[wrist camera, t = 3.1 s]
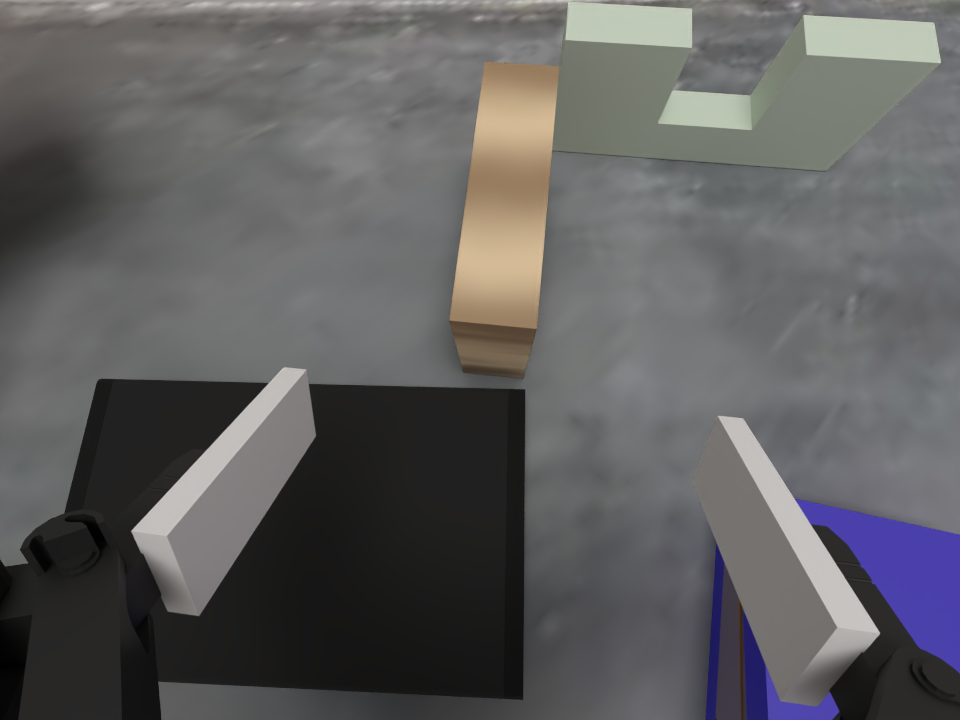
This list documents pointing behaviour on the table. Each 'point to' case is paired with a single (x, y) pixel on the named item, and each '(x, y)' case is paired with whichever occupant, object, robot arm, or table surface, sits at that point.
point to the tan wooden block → (505, 220)
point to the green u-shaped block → (727, 117)
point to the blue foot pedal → (893, 569)
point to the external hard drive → (342, 537)
